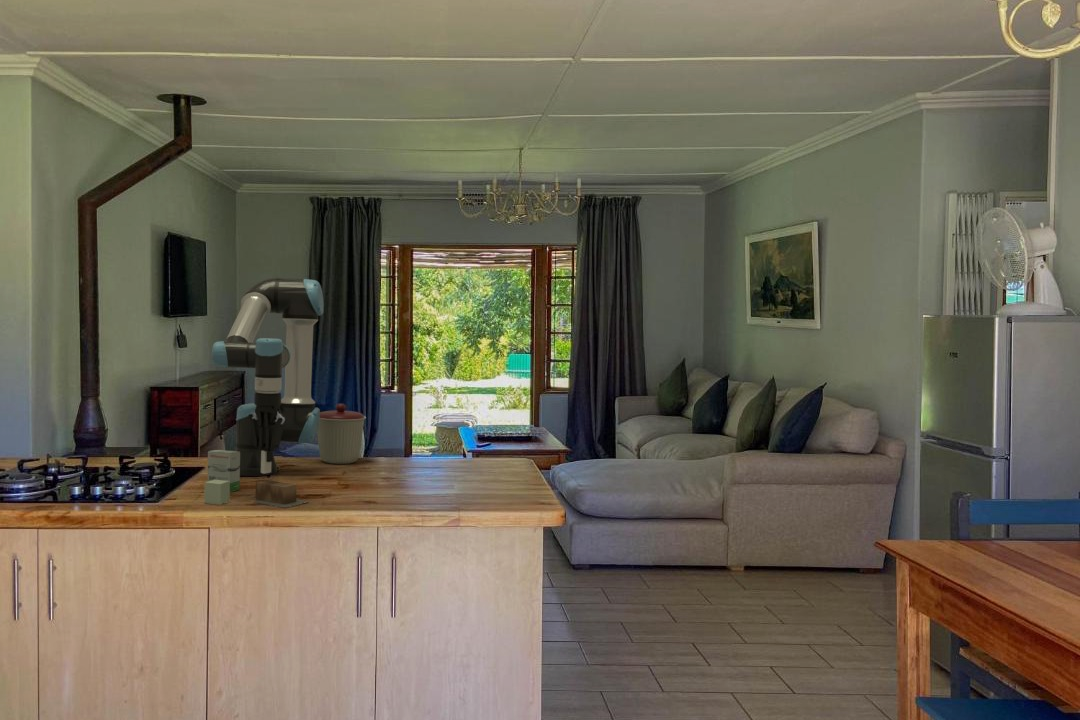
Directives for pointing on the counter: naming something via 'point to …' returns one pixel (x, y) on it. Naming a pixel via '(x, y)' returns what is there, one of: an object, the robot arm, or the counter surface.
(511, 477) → the counter surface
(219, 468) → the ink box
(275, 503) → the mat
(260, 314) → the robot arm
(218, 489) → the sage block
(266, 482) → the walnut block
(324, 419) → the canister
